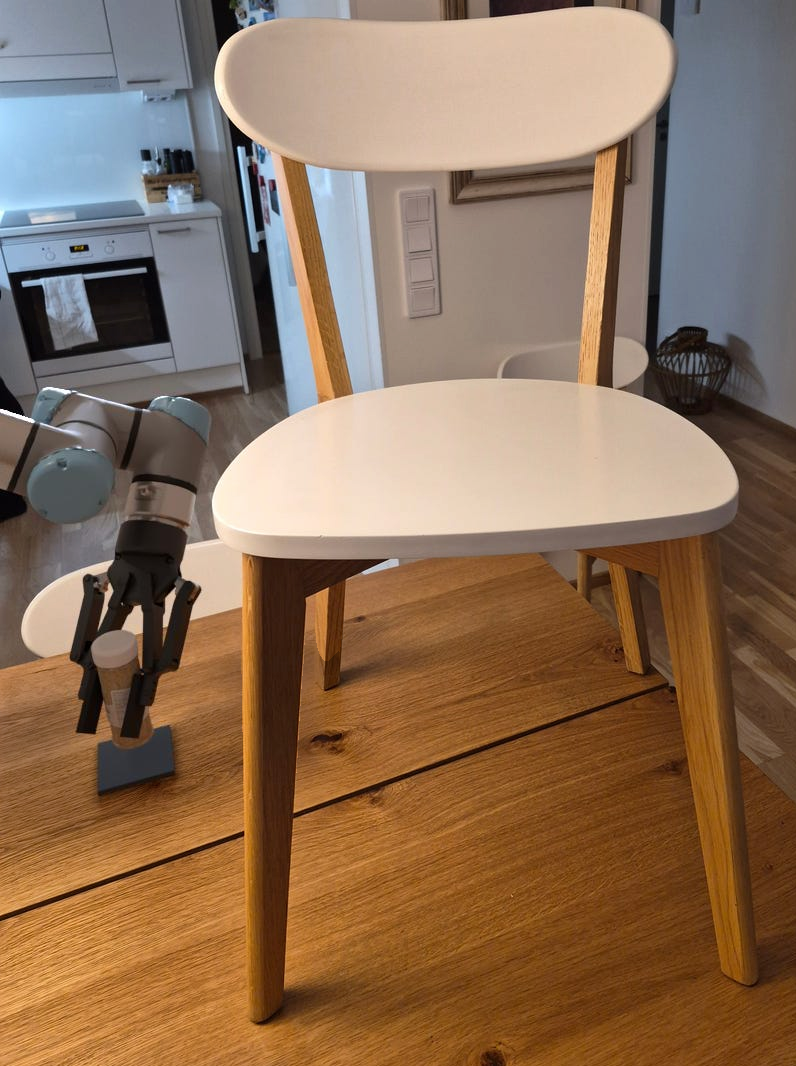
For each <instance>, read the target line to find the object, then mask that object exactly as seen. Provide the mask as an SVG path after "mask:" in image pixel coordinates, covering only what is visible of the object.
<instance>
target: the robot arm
mask: <svg viewBox="0 0 796 1066" xmlns="http://www.w3.org/2000/svg"><path fill="white" fill-rule="evenodd" d="M211 425H212V416H211V413H210V412H209V410H208V409H207V408H206V407H205V406H204V405H202V404H200V403H199V402H196V401H194V400H191V399H189V398H185V397H180V396H179V397H173V396H170V395H165V396H164V395H163V396H158V397H156V398H154V399H153V400H152V401H151V403H150V405H149V406H148V408H147V409H145V408H137V407H133V406H130V405H126V404H122V403H118V402H114V401H112V400H111V401H110V400H106V399H103V398H98V397H96V396H92V395H87V394H83V393H81V392H80V391H77V390H66V389H62V388H56V387H50V386H49V387H44V388H42V389H40V391H39V392H38V393H37V397H36V400H35V403H34V405H33V409H32V411H31V415H30V418H28V417H25V416H22V415H20V414H16V413H13V412H10V411H8V410H4V409H1V408H0V489H1V490H4V491H7V492H10V493H14V494H17V495H20V496H22V497H26V498H28V501H29V503H30V505H31V507H32V508H33V509H34V510H35V511H36V513H38V514H39V515H41V516H42V517H43V518H44V519H45V520H46V521H47V520H48V521H49V522H53V523H55V524H61V525H76V524H81V523H84V522H85V523H86V522H87V521H89V520H91V519H93V518H95V517H96V516H98V515H99V514H101V512H102V511H103V510H104V509H105V507H106V505H107V504H108V502H109V500H110V497H111V493H112V492H113V489H114V487H115V484H116V481H115V480H116V469H117V470H122V471H129V472H132V478H131V482H130V487H129V491H128V495H127V499H126V503H125V507H124V511H123V518H124V519H125V521H123V522H122V523H120V526H119V530H118V535H117V539H116V542H115V545H114V559H113V561H112V563H111V564H110V565H109V566H108V568H107V570H106V571H104V572H101V573H97V574H92V573H86V574H84V575H83V577H82V588H83V597H82V601H81V605H80V610H79V615H78V618H77V623H76V627H75V630H74V635H73V640H72V643H71V648H70V652H69V660H70V662H73V663H74V664H77V665H79V666H81V667H82V669H83V673H82V676H81V681H80V686H79V690H78V693H77V698H78V700H79V701H82V703H81V704H82V705H81V709H80V712H79V716H78V721H77V725H76V728H75V734H82V735H83V734H86V735H96V734H97V729H98V726H99V721H100V717H101V713H102V708H103V705H104V700H103V695H102V690H101V683H100V679H99V674H98V670H97V666H96V664H95V663H94V661H93V657H92V652H91V646H92V644H93V642H94V641H95V640H96V639H97V638H98V637H100V636H101V635H103V634H105V633H108V632H111V631H116V630H123V628H124V625H125V623H126V621H127V618H128V616H130V615H131V614H132V613H133V611H134V608H135V607H138V606H140V610H141V612H142V639H141V640H142V643H141V645H142V647H141V648H142V649H141V652H142V653H141V667H140V668H141V669H140V668H139V671H140V672H141V673H142V675H141V674H134V676H133V680H132V684H131V689H130V693H129V698H128V702H127V707H126V711H125V715H124V720H123V724H122V729H121V733H120V737H126V738H136V739H139V734H140V730H141V725H142V721H143V716H144V712H145V707H146V706H149V708H151V707H153V705H154V702H155V699H156V694H157V689H158V685H159V680H160V678H161V676H163V675H165V674H168V673H171V672H172V673H175V672H177V671H178V670H179V668H180V664H181V660H182V656H183V651H184V647H185V642H186V639H187V634H188V630H189V625H190V621H191V618H192V617H191V616H192V613H193V608H194V605H195V603H196V601H197V599H198V598H199V596H200V594H201V593H202V590H203V589H202V586H201V585H199V584H197V583H196V582H193V581H192V580H187V579H185V578H183V574H182V571H181V565H182V562H183V560H184V557H185V552H186V546H187V543H188V538H189V535H188V534H187V530H188V529H190V528H191V525H192V520H193V514H194V510H195V505H196V498H197V494H198V491H199V486H200V481H201V477H202V472H203V468H204V465H205V459H206V456H207V452H208V449H209V445H210V444H209V438H210V431H211ZM109 585H110V587H111V589H112V594H111V596H110V597H109V599H108V602H107V610H106V612H105V614H104V617H103V618H101V617H102V614H103V609H104V606H105V600H106V593H107V592H108V591H109ZM172 592H174V596H175V597H174V600H173V603H172V606H171V611H170V615H169V619H168V622H167V623H168V624H167V628H166V632H165V636H164V615H165V614H166V598H167V597H168V596H169V595H170V594H171V593H172ZM101 619H102V620H101Z"/></svg>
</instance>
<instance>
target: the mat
mask: <svg viewBox="0 0 796 1066" xmlns="http://www.w3.org/2000/svg"><path fill="white" fill-rule="evenodd" d="M172 738H173V737H172V729H171V725H170V724H166V725H163V726H158V727H155V728H154V733H153V736H152V737H151V739H150V740H149V741H148V742H147V743H145V744H144V745H142V746H140V747H137V748H134V749H128V750H124V749H120V748H117V747H116V746H115V745H114V744H113V741H112V739H108V740H104V741H100V742H98V743H97V795H98V796H102V795H106V794H109V793H113V792H117V791H121V790H123V789H128V788H132V787H134V786H138V785H142V784H146V783H150V782H153V781H155V780H160V779H163V778H168V777H170V776H174V775H176V768H175V767H176V766H175V759H174V748H173V739H172Z"/></svg>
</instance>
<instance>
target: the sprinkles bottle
mask: <svg viewBox="0 0 796 1066" xmlns="http://www.w3.org/2000/svg"><path fill="white" fill-rule="evenodd" d="M91 652H92V657H93V661H94V663H95V664H96V666H97V670H98V674H99V679H100V683H101V690H102V695H103V705H104V708H105V712H106V717H107V721H108V723H109V726H110V732H111V740H112V741H113V744H114V745H115V746H116V747H117V748H120V749H124V750H128V749H134V748H137V747H140V746H142V745H144V744H145V743H147V742H148V741H149V740H150V739H151V737H152V736H153V733H154V729H155V728H154V725H153V723H152V719H151V715H150V706H146V707H145V712H144V716H143V721H142V725H141V730H140V734H139V739H136V738H126V737H120V733H121V729H122V724H123V720H124V715H125V711H126V707H127V702H128V698H129V693H130V689H131V684H132V680H133V676H134V674H141V675H143V673H141V672H140V671H139V668H140V669H141V668H142V667H141V665H140V658H139V645H138V641H137V637H136V635H135V634H134V633H133V632H132V631H131V630H130V631H129V630H126V629H122V630H116V631H111V632H108V633H105V634H103V635H101V636H100V637H98V638H97V639H96V640H95V641H94V642H93V644H92V646H91Z"/></svg>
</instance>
